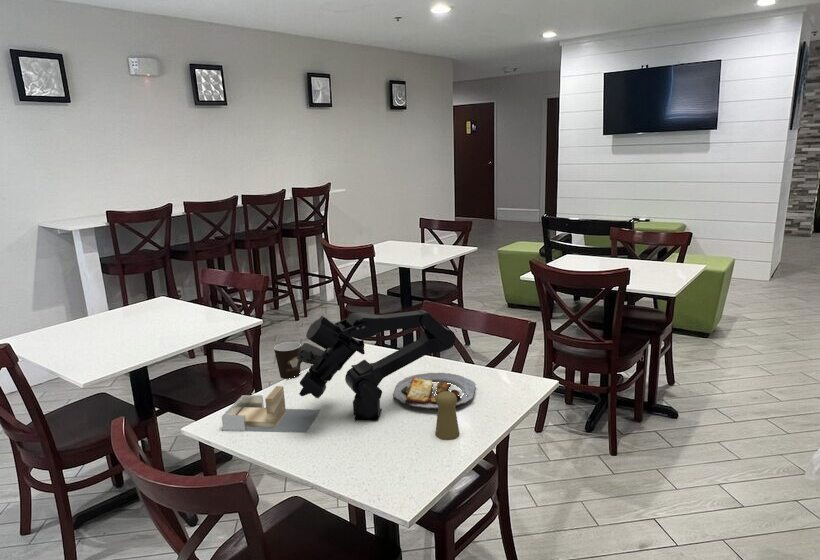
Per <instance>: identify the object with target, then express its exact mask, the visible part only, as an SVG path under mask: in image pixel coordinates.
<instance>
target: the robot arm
mask: <svg viewBox="0 0 820 560" xmlns="http://www.w3.org/2000/svg"><path fill="white" fill-rule="evenodd" d="M419 327H420V328H421V329H422V331H423V332H422V334H421V335H420V337H418V339H417V340H415V341H412V342H411V343H409V344H407V345H405V346H404V347H401V348H400V349H398V350H396V351H394V352H393V353H390V354H388V355H386V356H385V357H383V358H381V359H379V360H377V361H374V362H371V363H370V362H368V361H367V360H366V359H363V360H361V361H359V362H358V363H356V364H352V365H351V368H349V369H348V370H347V371H346V375H345V376H344V377H345V379H344V380H345V383H346V385H347V386H348V387H349V389H350V390H351V391H353V393H354V397H353V398H354V399H353V400H352V407H353V409H352V410H353V416H354V421H357V422H360V421H361V422H378V421H379V419H380V416H381V414H382V412H383V411H382V408H381V400H380V399H381V398H382V394H383V390H382V389H381V388H380V387H379V385H380V384H381V382H382V380H383V379H384V378H386V377H388V376H389V375H390V376H391V375H392V374H393V373H396V371H399V370H401V369H402V368H404V367H406V366H408V365H410V364H412V363H414V362H416V361H417V360H419V359H421V358H422V357H424V356H426V355H429V354H430V355H431V354H437V353H442V352H445V351H448V350H450V349H452V348H453V347H454V346H455V343H456V338H457V337H456V334H455V332H454V331H453V330H451V329H450V328H448V327H446V326H444V325H442V324H441V323H440V322H438V321H437V320H436V319H435V318H434V317H433V316H432V314H431V313H429V312H428V311H425V310H424V309H418V310H413V311H406V312H396V313H395V312H394V313H387V314H386V313H385V314H374V313H369V312H352V313H350V314H349V315H348V317H347V318H345V319H343V320H340V321H338V322H335V323H334V322H332V321H330V320H329V319H328V318H327V317H325V316H324V315H321V316H320V317H319V318H318V319H316V320H315V321H313V323H311V324H310V325H309V328H308V330H307V332H306V339H308V340H309V341H311V342H312V343H314V344H316V345H318V346H319V347H317V346H315V345H313V344H310V343H309V342H308V343H307V342H304V343H303V344H301V348H300V351H299V353H298V356H297V359H298V360H300V361H303V362H302V363H305V364H309V365H311V366H309V369H308V371H306V372H305V374H304V376H303V377H302V379H301V380H300V381H299V385H300V386H301V387H302V388H301V389H300V392H299V393H298V394H299V396H301V397H305V396H308V395H310V394H311V395H312V396H313V397H314V398H315V399H320V397H321V396H322V395H323V394H324V393H325V391H326V389H327V384H328V382H330V381H331V380H332V379H333V377H334V376H335V374H337V373H338V372H339V371H340V370H342V368H343V367H344V365H345V364H346V363H347V362H348V361H349V360H350V359H351V358H352V356H353V355H354V354H355V353H356V352H358V353H359V354H360V355H365V354H366V353H365V341H364V340H365V339H368V338H372V337H376V336H378V334H380V333H382V332H386V331H395V330H405V329H411V328H419ZM356 338H357V339H356ZM358 339H359V340H358ZM320 347H321V348H322V349H321V348H320ZM323 349H325V350H323Z"/></svg>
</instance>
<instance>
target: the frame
mask: <svg viewBox="0 0 820 560" xmlns="http://www.w3.org/2000/svg"><path fill="white" fill-rule="evenodd" d="M264 403H265V402H264V397H263V395H261V394H260V395H258V394H257V395H253V394H252V395H249V394H248V395H247V394H245V395H243V394H242V395H241V396H240V397H239V398H238V399H237V400H236V401H235V402H234V403H233V404H232V406H230V407H229V408H228V409H227V410H226V411H225V412H224V414H222V416H221V422H222V430H223V431H222V432H247V431H246V430H247V427H246V418H245V415H238V414H239V412H240V411H241V410H242V409H243V408H244V407H252V408H265V405H264Z"/></svg>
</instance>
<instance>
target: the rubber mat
mask: <svg viewBox="0 0 820 560" xmlns="http://www.w3.org/2000/svg"><path fill="white" fill-rule="evenodd" d="M320 411H321V409H320V408H319V409H309V408H305V409H304V408H299V409H298V408H286V414H285V415H284V417H283V418H282V419H281V421H280V422H279V423H278V425H277V426H276V427H249V426H246V427H247V430H246V431H245V432H251V433H252V432H253V433H254V432H256V433H257V432H258V433H259V432H261V433H303V434H304V433H305V434H307V433H308V432H309V429H310V428H311V426H312V425H313V423H314V422H315V420H316V418H317V417H318V415H319V414H320ZM221 431H222V432H224V431H223V429H222V430H221Z"/></svg>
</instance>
